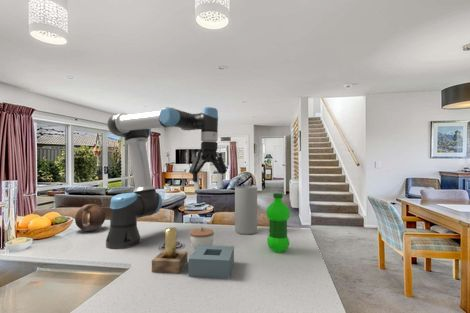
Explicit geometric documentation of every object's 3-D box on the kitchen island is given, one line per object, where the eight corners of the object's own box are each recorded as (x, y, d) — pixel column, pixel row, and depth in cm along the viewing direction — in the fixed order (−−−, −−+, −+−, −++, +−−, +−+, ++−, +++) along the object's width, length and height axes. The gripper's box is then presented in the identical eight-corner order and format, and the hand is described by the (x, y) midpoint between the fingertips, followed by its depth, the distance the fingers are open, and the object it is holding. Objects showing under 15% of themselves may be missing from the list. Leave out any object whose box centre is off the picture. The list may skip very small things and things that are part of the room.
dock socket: (188, 276, 85) (188, 258, 85) (198, 260, 99) (198, 245, 99) (229, 278, 83) (229, 260, 83) (233, 261, 97) (234, 246, 97)
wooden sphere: (87, 226, 150) (88, 201, 150) (110, 227, 148) (111, 202, 148) (67, 233, 135) (68, 206, 135) (93, 234, 133) (93, 206, 133)
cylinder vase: (243, 227, 148) (243, 185, 149) (261, 231, 141) (261, 186, 142) (230, 232, 138) (230, 187, 139) (249, 236, 131) (249, 188, 131)
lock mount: (151, 271, 88) (151, 260, 88) (162, 260, 98) (163, 250, 98) (179, 273, 87) (179, 261, 87) (187, 261, 97) (187, 251, 97)
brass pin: (163, 268, 91) (163, 230, 91) (167, 264, 95) (167, 227, 95) (173, 269, 90) (174, 230, 91) (177, 264, 94) (177, 227, 95)
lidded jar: (204, 243, 119) (204, 223, 120) (218, 248, 112) (218, 227, 112) (185, 248, 112) (185, 227, 112) (199, 255, 104) (199, 232, 104)
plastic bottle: (270, 245, 117) (270, 191, 117) (292, 248, 112) (292, 193, 113) (263, 252, 108) (262, 194, 108) (287, 256, 103) (286, 195, 104)
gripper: (191, 139, 102) (190, 191, 102) (234, 143, 120) (233, 187, 120) (181, 140, 107) (180, 189, 107) (223, 143, 125) (223, 186, 125)
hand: (208, 188), depth 113 cm, fingers open, 13 cm apart
